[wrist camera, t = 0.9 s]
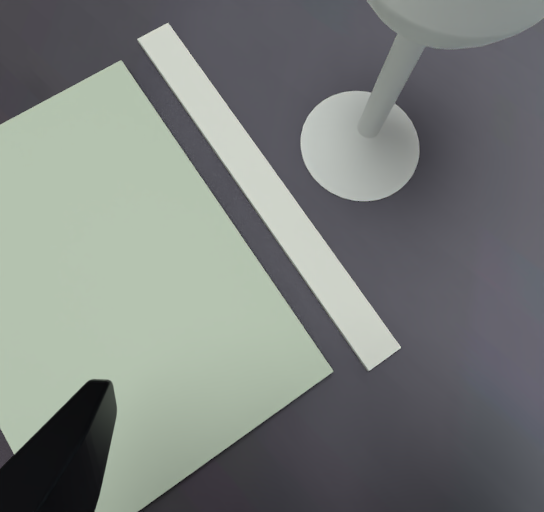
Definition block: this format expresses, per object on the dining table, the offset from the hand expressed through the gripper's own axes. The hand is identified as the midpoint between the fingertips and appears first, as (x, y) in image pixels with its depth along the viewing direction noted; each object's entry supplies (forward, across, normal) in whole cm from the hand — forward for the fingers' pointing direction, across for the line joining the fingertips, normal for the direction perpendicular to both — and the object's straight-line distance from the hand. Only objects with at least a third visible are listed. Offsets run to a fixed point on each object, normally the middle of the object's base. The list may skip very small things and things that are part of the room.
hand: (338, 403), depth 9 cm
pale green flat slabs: (+14, +8, +7) cm, 17 cm away
